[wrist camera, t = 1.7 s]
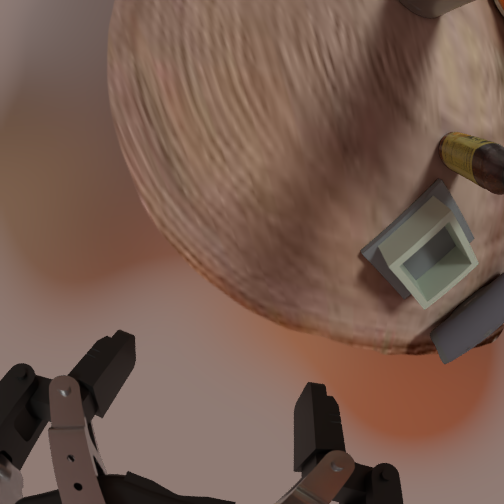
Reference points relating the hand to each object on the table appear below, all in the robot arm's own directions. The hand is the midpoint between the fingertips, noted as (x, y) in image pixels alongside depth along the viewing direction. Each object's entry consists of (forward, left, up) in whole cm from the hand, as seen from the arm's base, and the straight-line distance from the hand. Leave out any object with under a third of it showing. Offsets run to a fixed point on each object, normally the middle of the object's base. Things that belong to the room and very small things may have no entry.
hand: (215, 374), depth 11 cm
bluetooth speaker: (-12, +48, -32) cm, 59 cm away
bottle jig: (-10, +25, -32) cm, 42 cm away
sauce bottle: (-24, +16, -32) cm, 43 cm away
